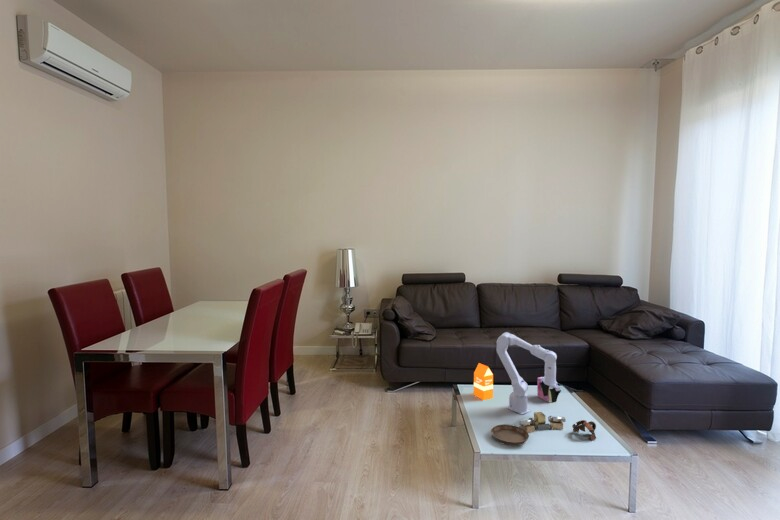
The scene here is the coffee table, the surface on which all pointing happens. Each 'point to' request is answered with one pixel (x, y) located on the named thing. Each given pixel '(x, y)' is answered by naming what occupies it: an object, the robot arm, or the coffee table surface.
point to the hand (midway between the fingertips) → (549, 398)
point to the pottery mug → (590, 426)
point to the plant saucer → (510, 435)
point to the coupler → (539, 418)
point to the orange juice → (483, 382)
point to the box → (540, 392)
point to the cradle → (541, 426)
